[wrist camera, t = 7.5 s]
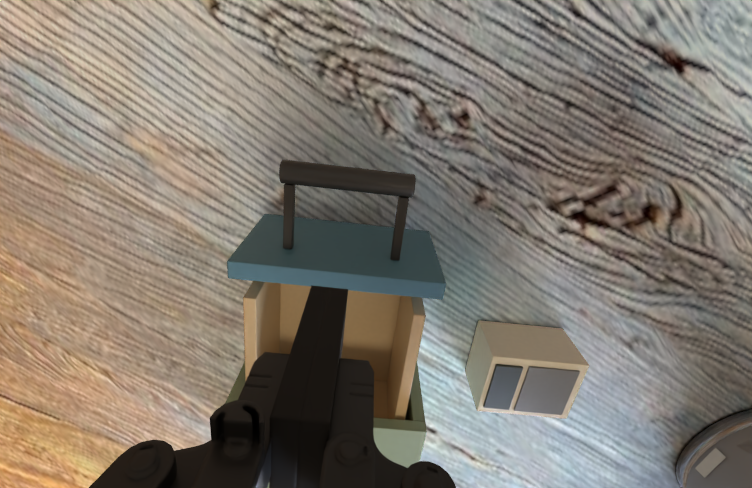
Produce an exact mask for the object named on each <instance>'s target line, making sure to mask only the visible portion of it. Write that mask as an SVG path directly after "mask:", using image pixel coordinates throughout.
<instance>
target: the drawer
mask: <svg viewBox="0 0 752 488" xmlns="http://www.w3.org/2000/svg"><path fill="white" fill-rule="evenodd" d="M279 178H280V182H281V183H285V184H284V216H281V215H272V214H264V216H263V217H262V218H261V219H260V221H259V222H258V223H257V224H256V226H255V227H254V228H253V229H252V231H251V232H250V233H249V234H248V236H247V237H246V238H245V239H244V241H243V242H242V243H241V244H240V246H239V247H238V248H237V249H236V251H235V252H234V253H233V254H232V256H231V257H230V258H229V259H228V261H227V269H228V278H232V279H241V280H251V281H253V282H252V284H251V286H250V287H249V289H248V291H247V292H246V294H245V296H244V297H243V310H244V344H245V378H246V380H247V377H248V376H249V373H250V370H251V368H252V366H253V363H254V362H255V361H256V360H257V359H258V358H259V357H260V356H261V355H262V354H263V353H264V352H271V353H282V354H290V352H291V349H292V346H293V342H294V339H295V336H296V333H297V330H298V327H299V323H300V320H301V317H302V314H303V311H304V308H305V304H306V301H307V298H308V295H309V292H310V289H311V285H312V286H322V287H332V288H342V289H348V298H347V308H346V318H345V328H344V338H343V347H342V354H341V358H345V359H355V360H366V361H369V363H370V365H371V367H372V369H373V371H374V418H386V419H398V420H405V417H406V412H407V407H408V402H409V397H410V392H411V387H412V382H413V377H414V372H415V367H416V362H417V357H418V352H419V347H420V342H421V337H422V332H423V327H424V322H425V317H426V316H425V311H424V306H423V301H422V298H431V299H441V300H442V299H443V297H444V292H445V287H446V281H445V278H444V275H443V272H442V269H441V266H440V263H439V260H438V257H437V254H436V251H435V248H434V245H433V242H432V239H431V236H430V233H429V231H420V230H411V229H404V227H405V221H406V214H407V208H408V201H409V198H408V197H410V198H412V197H413V195H414V190H415V182H416V177H415V175H414V174H405V173H397V172H388V171H379V170H370V169H362V168H353V167H344V166H335V165H327V164H318V163H309V162H301V161H292V160H282V161H281V164H280V170H279ZM295 185H303V186H312V187H321V188H330V189H339V190H348V191H357V192H366V193H374V194H383V195H392V196H399V198H398V205H397V212H396V219H395V226H394V228H392V227H383V226H374V225H365V224H355V223H346V222H337V221H328V220H318V219H309V218H300V217H295Z"/></svg>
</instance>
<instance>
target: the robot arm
mask: <svg viewBox="0 0 752 488" xmlns="http://www.w3.org/2000/svg"><path fill="white" fill-rule="evenodd" d="M347 298H348V289H342V288H332V287H322V286H312V285H311V289H310V292H309V295H308V298H307V301H306V304H305V308H304V311H303V314H302V317H301V320H300V323H299V327H298V330H297V333H296V336H295V339H294V342H293V346H292V349H291V352H290V354H282V353H271V352H264V353H263V354H262V355H261V356H260V357H259V358H258V359H257V360H256V361H255V362H254V363H253V366H252V368H251V370H250V373H249V376H248V377H247V380H246V382H245V385H244V387H243V389H242V391H241V394H240V396H239V398H238V400H235V401H232V402H229V403H226V404H224V405H223V406H221V407H220V408H218V409H217V410H216V411H215V412H214V413H213V415H212V416H211V417H210V427H211V439H212V440H211V441H209V442H207V443H205V444H202V445H199V446H196V447H191V448H186V449H181V450H176V451H174V450H173V448H172V446H171V445H170V444H168V443H166V442H165V441H160V440H150V441H145V442H141V443H139V444H137V445H135V446H133V447H130V448H129V449H128V450H127V451H125V452H124V453H123V454H122V455H120V456H119V457H118V458H117V459H116V460H115V461H114V462H113V463H112V464H111V465H110V467H109V468H108V469H107V470H106V471H105V472H104V473H103V474H102V475H101V476H100V477H99V478H98V479H97V480H96V481H95V482H94V483H93V484H92V485H91V486H90V487H89V488H267V487H268V483H269V488H456V486H455V484H454V482H453V480H452V479H451V477H450V476H449V474H448V473H447V472H446V471H445V470H444V469H443V468H441V467H440V466H439V465H436V464H434V463H431V462H423V461H419V462H417V463H414V464H411V465H410V466H409V467H408V468H407V467H404V466H402V465H399V464H397V463H395V462H393V461H391V460H389V459H387V458H386V457H385V456H384V455H383V454H382V453H381V452H380V451H379V449H378V448H377V446H376V444H375V441H374V435H373V427H374V371H373V369H372V367H371V365H370V363H369V361H366V360H355V359H345V358H341V354H342V347H343V338H344V328H345V318H346V308H347ZM676 478H677V481H678V483H679V485H680V486H681V488H752V410H748V411H744V412H741V413H738V414H735V415H732V416H730V417H727V418H725V419H723V420H721V421H719V422H717V423H715V424H713V425H711V426H710V427H708V428H707V429H705V430H704V431H702V432H701V433H700V434H699V435H697V436H696V437H695V438H694V439H693V440H692V441H691V442H690V443H689V444H688V445H687V446H686V448H685V449H684V450H683V452H682V453H681V455H680V457H679V459H678V462H677V466H676Z"/></svg>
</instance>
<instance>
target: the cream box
mask: <svg viewBox="0 0 752 488" xmlns="http://www.w3.org/2000/svg"><path fill="white" fill-rule="evenodd" d="M588 368H589V364H588V363H587V362H586V360H585V359H584V357H583V356H582V355H581V353H580V352H579V351H578V349H577V348H576V346H575V345H574V344H573V342H572V341H571V340H570V338H569V337H568V335H567V334H566V333H565V331H564V330H563V329H562V328H552V327H542V326H532V325H522V324H512V323H501V322H491V321H481V320H478V324H477V327H476V331H475V335H474V339H473V342H472V346H471V350H470V354H469V357H468V361H467V365H466V368H465V372H466V376H467V379H468V382H469V386H470V389H471V392H472V396H473V399H474V403H475V406H476V409H477V411H484V412H495V413H507V414H518V415H529V416H541V417H552V418H564V419H566V418H567V416H568V414H569V412H570V409H571V407H572V405H573V402H574V400H575V398H576V395H577V393H578V391H579V388H580V386H581V384H582V381H583V379H584V377H585V375H586V372H587V370H588Z"/></svg>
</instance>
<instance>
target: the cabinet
mask: <svg viewBox="0 0 752 488" xmlns="http://www.w3.org/2000/svg"><path fill="white" fill-rule="evenodd" d="M245 382H246V378H245V362H244V364H243V366H242V368H241V370H240V373H239V375H238V377H237V379H236V381H235V383H234V386H233V388H232V390H231V392H230V394H229V396H228V399H227V401H226V403H229V402H232V401H235V400H238V398H239V396H240V394H241V391H242V389H243V387H244V385H245ZM226 403H225V404H226ZM426 432H427V431H426V424H425V417H424V410H423V402H422V395H421V388H420V381H419V373H418V366H417V362H416V367H415V372H414V377H413V382H412V387H411V392H410V397H409V402H408V407H407V412H406V417H405V420H398V419H386V418H374V427H373V435H374V441H375V444H376V446H377V448H378V449H379V451H380V452H381V453H382V454H383V455H384V456H385V457H386V458H387V459H389V460H391V461H393V462H395V463H397V464H399V465H402V466H404V467H407V468H408V467H409V466H410V465H411V464H414V463H417V462H419V461H420V458H421V454H422V449H423V445H424V441H425V437H426ZM267 488H269V483H268V487H267Z"/></svg>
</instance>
